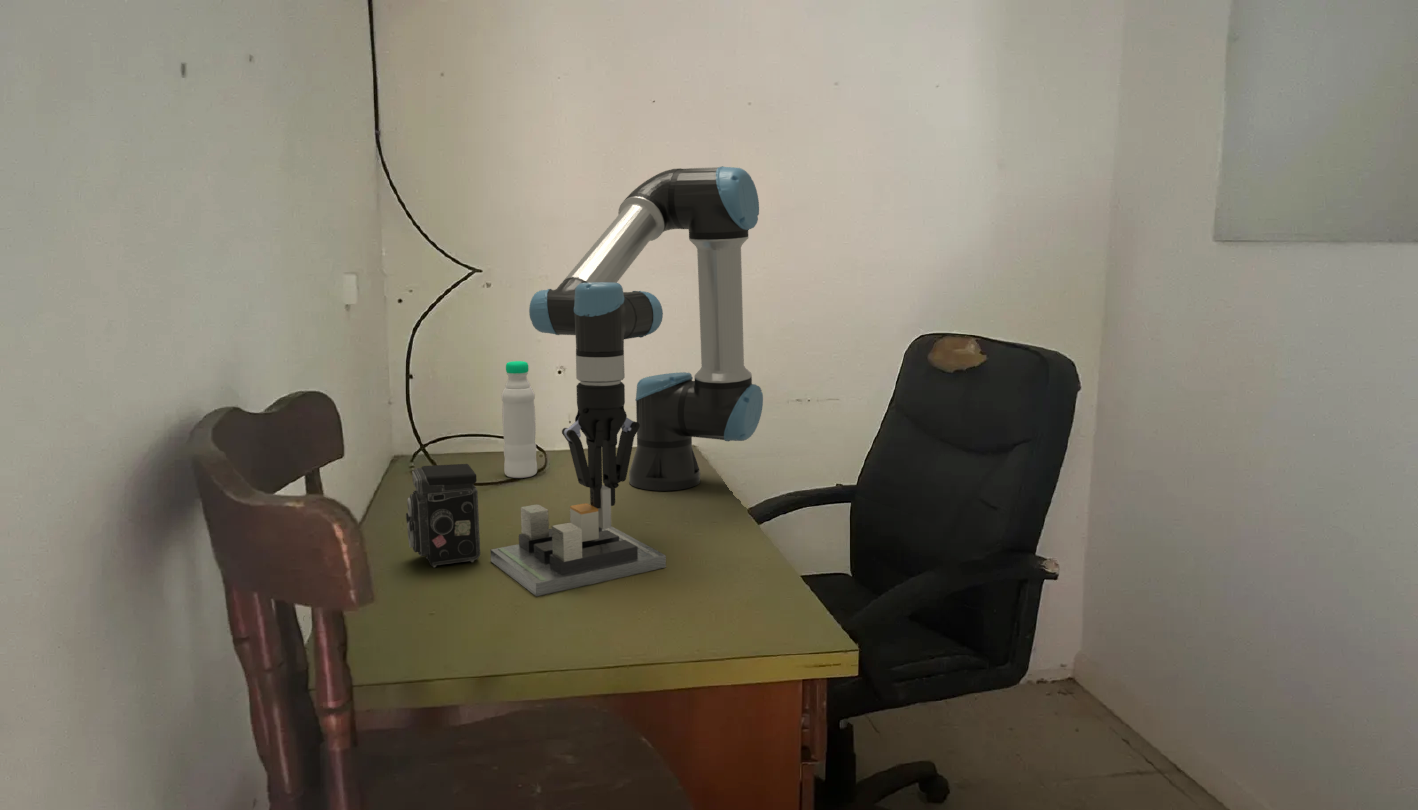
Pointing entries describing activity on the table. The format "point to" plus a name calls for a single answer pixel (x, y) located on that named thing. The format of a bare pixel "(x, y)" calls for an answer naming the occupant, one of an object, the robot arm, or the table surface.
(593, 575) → the panel
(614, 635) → the table surface
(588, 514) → the block
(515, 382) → the water bottle
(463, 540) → the camera
